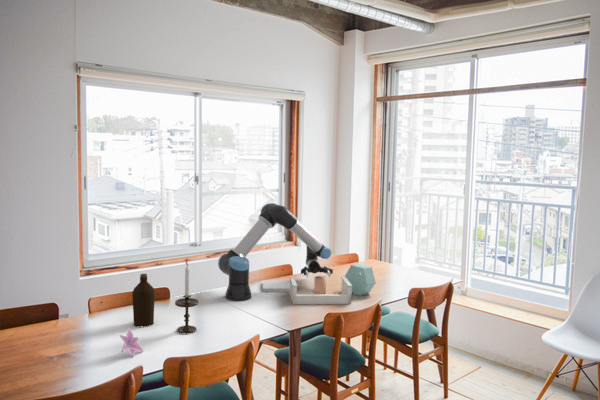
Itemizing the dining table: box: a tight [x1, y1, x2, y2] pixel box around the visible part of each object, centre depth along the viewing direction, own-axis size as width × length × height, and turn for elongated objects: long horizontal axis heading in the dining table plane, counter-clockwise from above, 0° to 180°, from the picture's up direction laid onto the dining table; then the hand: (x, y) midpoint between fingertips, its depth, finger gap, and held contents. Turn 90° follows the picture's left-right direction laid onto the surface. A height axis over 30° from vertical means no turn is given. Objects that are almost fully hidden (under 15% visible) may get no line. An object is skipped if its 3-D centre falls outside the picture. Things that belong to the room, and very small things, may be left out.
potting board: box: [261, 280, 290, 293], centre depth 314 cm, size 18×18×2 cm
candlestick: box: [174, 260, 199, 335], centre depth 234 cm, size 11×11×35 cm
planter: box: [344, 263, 376, 297], centre depth 307 cm, size 17×8×21 cm
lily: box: [118, 327, 144, 357], centre depth 208 cm, size 12×12×10 cm
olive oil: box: [131, 273, 156, 328], centre depth 242 cm, size 11×11×25 cm
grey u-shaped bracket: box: [289, 276, 353, 305], centre depth 293 cm, size 35×20×11 cm, turn 96°
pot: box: [313, 275, 327, 294], centre depth 292 cm, size 7×7×13 cm
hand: (318, 274), depth 301 cm, fingers open, 13 cm apart
